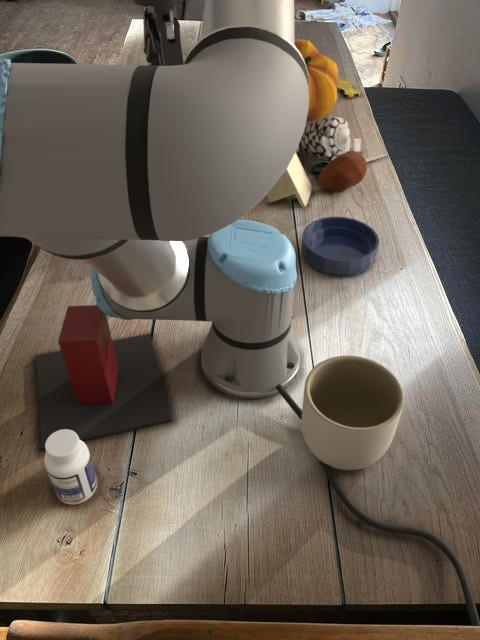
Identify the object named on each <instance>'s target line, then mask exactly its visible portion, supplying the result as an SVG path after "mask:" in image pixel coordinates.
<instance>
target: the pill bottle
mask: <svg viewBox="0 0 480 640" xmlns="http://www.w3.org/2000/svg"><path fill="white" fill-rule="evenodd" d="M45 449H46V450H45V454H44V459H43V463H44V467H45V469H46V472H47V474H48V477H49V480H50V482H51V485H52V487H53V490H54V493H55V495H56V497H57V498H58V500H59V501H60V502H62V503H64V504H66V505H80V504H82V503H85V502H87V501H88V500H89V499H91V497H92V496H93V495H94V494H95V492H96V490H97V488H98V477H97V473H96V469H95V466H94V462H93V459H92V455H91V453H90V450H89V447H88V445H87V444H86V442H85V441H81V440H79V437H78V435H77V434H76V433H75V432H74V431H72V430H68V429H63V430H58V431H56V432H54V433H53V434H51V435H50V436H49V437H48V439H47V441H46V443H45Z"/></svg>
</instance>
